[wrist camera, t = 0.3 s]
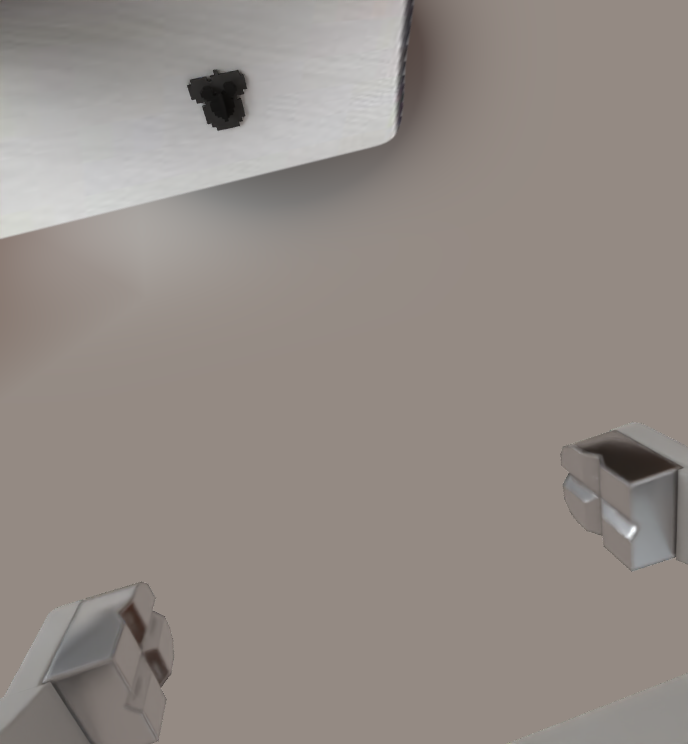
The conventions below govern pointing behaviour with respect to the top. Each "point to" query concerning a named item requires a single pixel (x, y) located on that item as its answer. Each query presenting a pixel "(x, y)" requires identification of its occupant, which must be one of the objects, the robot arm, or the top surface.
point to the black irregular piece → (220, 98)
